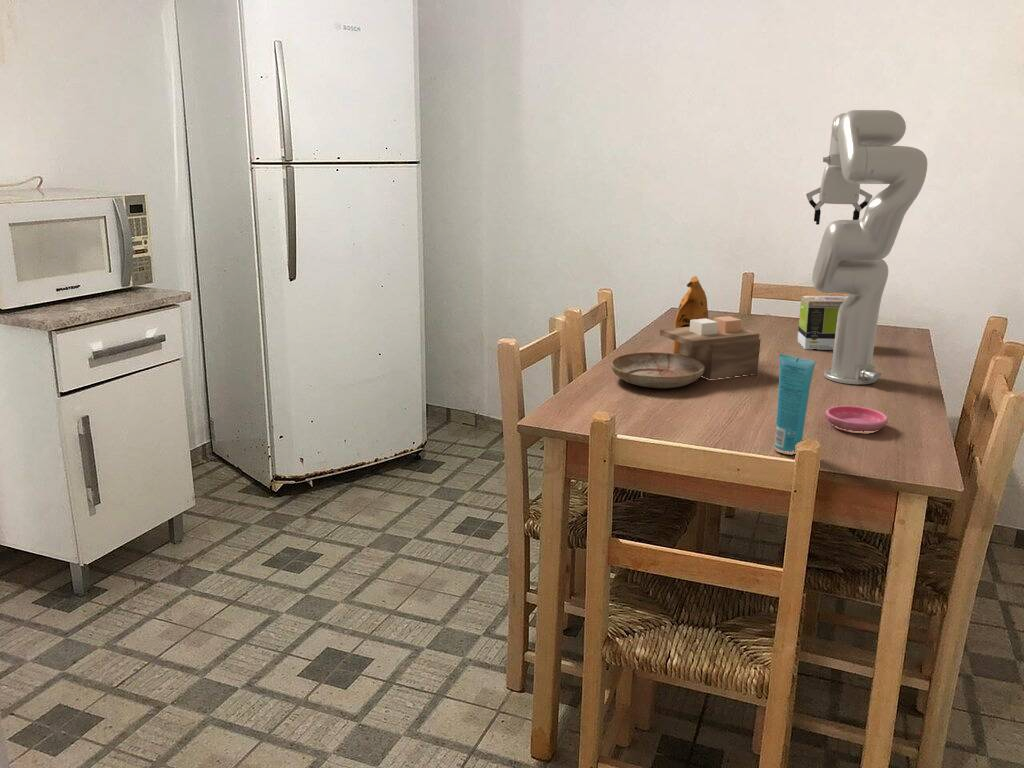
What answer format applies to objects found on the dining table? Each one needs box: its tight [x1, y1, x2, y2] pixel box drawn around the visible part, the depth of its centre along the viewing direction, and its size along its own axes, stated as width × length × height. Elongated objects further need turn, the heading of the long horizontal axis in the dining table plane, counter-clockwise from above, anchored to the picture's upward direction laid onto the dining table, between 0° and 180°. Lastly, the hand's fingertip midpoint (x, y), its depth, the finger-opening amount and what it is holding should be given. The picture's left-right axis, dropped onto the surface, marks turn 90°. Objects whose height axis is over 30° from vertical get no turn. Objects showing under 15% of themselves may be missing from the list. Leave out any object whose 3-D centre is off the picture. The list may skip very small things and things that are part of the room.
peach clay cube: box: [713, 315, 742, 333], centre depth 220 cm, size 5×5×3 cm
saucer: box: [824, 405, 889, 432], centre depth 180 cm, size 12×12×3 cm
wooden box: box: [659, 327, 761, 379], centre depth 220 cm, size 14×22×11 cm, turn 114°
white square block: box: [689, 318, 718, 335], centre depth 217 cm, size 5×5×3 cm
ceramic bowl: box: [610, 351, 705, 389], centre depth 212 cm, size 23×24×5 cm
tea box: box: [797, 295, 849, 351], centre depth 248 cm, size 15×10×15 cm
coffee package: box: [672, 275, 709, 354], centre depth 235 cm, size 10×12×22 cm
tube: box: [774, 353, 816, 452], centre depth 163 cm, size 7×5×19 cm, turn 47°
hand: (835, 224), depth 236 cm, fingers open, 9 cm apart
